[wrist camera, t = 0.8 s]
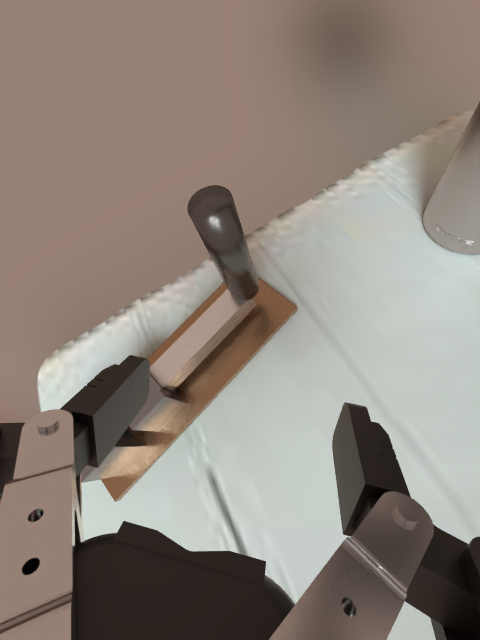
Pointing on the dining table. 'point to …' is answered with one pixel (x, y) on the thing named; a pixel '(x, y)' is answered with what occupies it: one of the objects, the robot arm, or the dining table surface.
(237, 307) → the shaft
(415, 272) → the dining table surface
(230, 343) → the shaft bracket
